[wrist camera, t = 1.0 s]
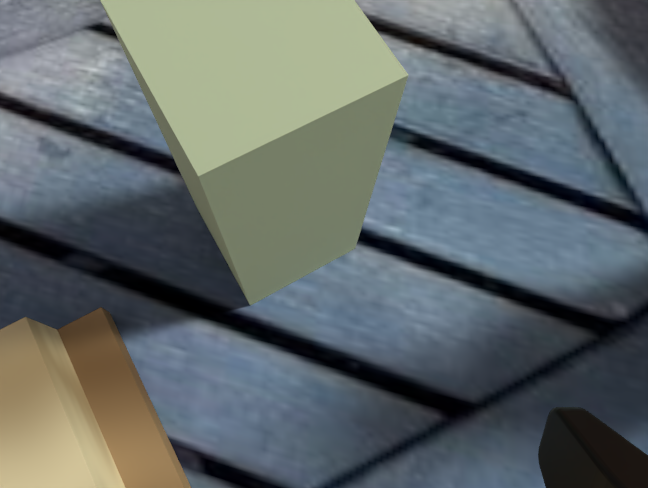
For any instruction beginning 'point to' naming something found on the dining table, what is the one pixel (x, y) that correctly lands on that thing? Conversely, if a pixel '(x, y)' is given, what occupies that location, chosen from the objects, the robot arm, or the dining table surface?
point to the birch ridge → (78, 411)
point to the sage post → (268, 121)
